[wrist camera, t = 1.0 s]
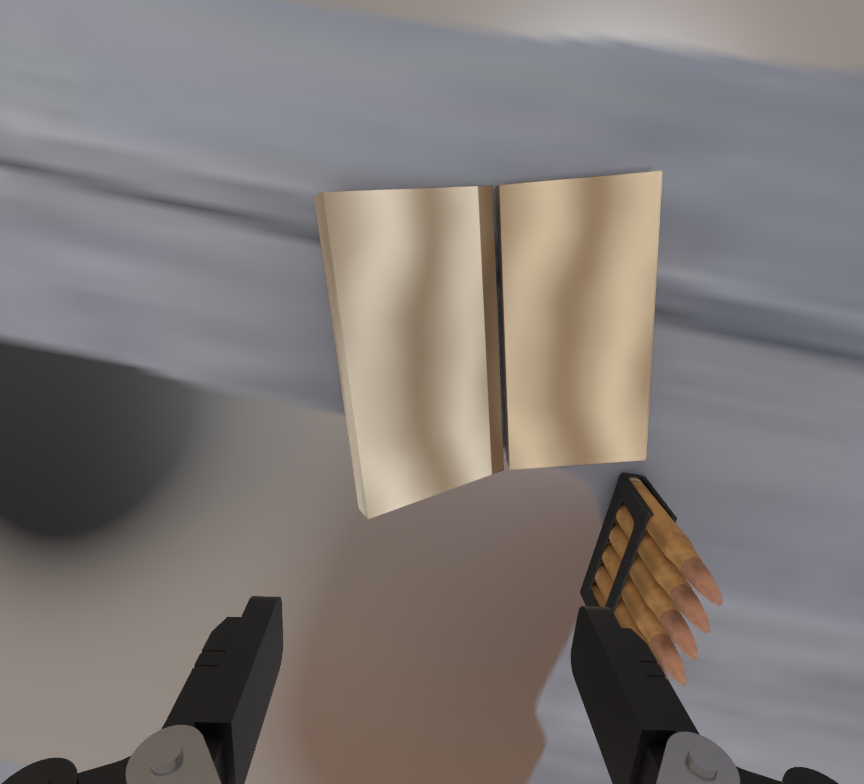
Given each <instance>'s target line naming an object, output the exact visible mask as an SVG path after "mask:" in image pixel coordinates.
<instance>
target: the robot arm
mask: <svg viewBox="0 0 864 784" xmlns="http://www.w3.org/2000/svg"><path fill="white" fill-rule="evenodd" d="M282 624H283V621H282V600H281V597H263V596H261V597H260V596H252V597H251V598H250V599H249V601H248V604H247V606H246V608H245V610H244V612H243V615H242V617H227V618H226V619H225V620H224V621H223V622H222V623H221V624H219V626H217V627H216V628H215V629H214V630H213V631H212V632H211V634H210V636H209V638H208V640H207V642H206V644H205V646H204V648H203V649H202V653H201V654H200V655H199V657H198V659H197V661H196V663H195V667H194V668H193V669H192V671H191V673H190V675H189V677H188V679H187V681H186V683H185V685H184V687H183V689H182V691H181V693H180V695H179V696H178V698H177V700H176V703H175V704H174V706H173V708H172V710H171V713H170V714H169V716H168V718H167V720H166V722H165V724H164V726H163V727H162V729H161V730H160V731H158V732H156V733H154V734H152V735H151V736H149V737H148V738H147V739H146V740H144V741H143V742H142V743H141V744H140V745H139V746H138V748H137V749H136V750H135V751H134V753H133V754H132V755H131V756H130V757H128V758H125V759H123V760H121V761H118V762H115V763H112V764H108V765H105V766H101V767H98V768H94V769H91V770H87V771H84V772H81V773H77V769H76V767H75V765H74V764H73V763H72V762H71V761H69V760H67V759H63V758H48V759H45V760H41V761H38V762H35V763H32V764H30V765H28V766H26V767H24V768H22V769H21V770H19V771H18V772H16V773H15V774H13V775H12V776H10V777H9V778H8V779H7V780H6V781H4V782H3V783H2V784H244V783H245V780H246V777H247V773H248V770H249V767H250V764H251V760H252V757H253V754H254V751H255V747H256V744H257V741H258V738H259V734H260V731H261V728H262V725H263V722H264V718H265V715H266V712H267V709H268V705H269V702H270V699H271V695H272V692H273V689H274V686H275V683H276V679H277V676H278V673H279V669H280V665H281V660H282V653H283V625H282ZM571 666H572V672H573V676H574V679H575V682H576V685H577V687H578V690H579V693H580V696H581V698H582V701H583V704H584V707H585V709H586V712H587V715H588V717H589V720H590V723H591V726H592V728H593V731H594V734H595V737H596V739H597V742H598V745H599V748H600V750H601V753H602V756H603V759H604V761H605V764H606V767H607V770H608V772H609V775H610V778H611V781H612V783H613V784H838V783H837V782H835V781H834V780H832V779H831V778H829V777H828V776H826V775H824V774H822V773H820V772H817V771H815V770H812V769H809V768H804V767H794V768H791V769H789V770H787V771H786V773H785V774H784V777H783V779H782V782H780V781H777V780H774V779H771V778H768V777H765V776H762V775H759V774H755V773H752V772H749V771H746V770H744V769H741V768H739V767H737V766H735V764H734V763H733V761H732V760H731V758H730V757H729V756H728V755H727V754H726V752H725V751H724V750H723V749H721V748H720V747H719V746H718V745H717V744H715V743H714V742H713V741H711V740H709V739H708V738H706V737H704V736H701V735H700V734H699V733H698V731H697V729H696V728H695V726H694V724H693V722H692V721H691V719H690V717H689V715H688V714H687V712H686V710H685V708H684V707H683V705H682V703H681V701H680V700H679V698H678V696H677V694H676V693H675V691H674V689H673V688H672V686H671V684H670V682H669V681H668V679H666V677H665V676H666V675H665V674H664V672H663V670H662V668H661V667H660V665H659V664H657V660H656V658H655V656H654V654H653V653H652V651H651V649H650V648H649V646H648V644H647V643H646V642H645V641H644V640H643V639H642V638H641V637H640V636H639V635H638V634H637V633H636V632H634V631H633V630H632V629H631V628H621V626H620V624H619V622H618V620H617V618H616V617H615V615H614V613H613V611H612V610H611V608H609V607H593V606H581V607H580V608H579V611H578V616H577V621H576V627H575V632H574V638H573V643H572V648H571Z"/></svg>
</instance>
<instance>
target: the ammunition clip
mask: <svg viewBox="0 0 864 784" xmlns="http://www.w3.org/2000/svg"><path fill="white" fill-rule="evenodd" d="M676 520H677V517H676V516H675V515H674V514H673V512H672V511H671V510H670V508H669V507H668V506H667V504H666V503H665V502H664V501H663V499H662V498H661V497H660V495H659V494H658V493H657V491H656V490H655V489H654V488H653V486H652V485H651V484H650V482H649V481H648V480H647V478H646V477H642V476H637V475H631V474H626V473H622V474H620V476H619V479H618V482H617V485H616V488H615V491H614V494H613V497H612V500H611V503H610V506H609V509H608V511H607V514H606V517H605V520H604V523H603V526H602V529H601V532H600V535H599V538H598V541H597V544H596V547H595V550H594V552H593V556H592V558H591V561H590V564H589V567H588V570H587V573H586V576H585V579H584V582H583V585H582V588H581V591H580V594H581V596H582V598H583V600H584V603H585V605H586V606H593V607H609V608H611V610H612V611H613V613H614V615H615V617H616V618H617V620H618V622H619V624H620V626H621V628H631V629H632V630H633V631H634V632H636V633H637V634H638V635H639V636H640V637H641V638H642V639H643V640H644V641H645V642H646V643H647V644H648V646H649V648H650V649H651V651H652V653H653V654H654V656H655V658H656V660H657V664H659V665H660V667H661V668H662V670H663V672H664V674H665V675H666V676H665V677H666V679H668V676H667V674H666V672H665V670H664V668H665V669H666V670H667V671H668V673H669V674H670V675H671V676H672V677H673V678H674V679H675V680H676V681H677V682H679V683H680V684H681V685H684V686H685V685H686V673H685V670H684V666H683V663H682V660H681V658H680V655H679V653H678V651H677V649H676V647H675V645H674V643H673V642H672V640H673V641H674V642H675V643H676V645H677V646H678V647H679V648H680V649H681V650H682V651H683V652H684V653H685V654H686V655H688V656H689V657H690V658H692V659H694V660H697V659H698V652H697V647H696V644H695V641H694V638H693V635H692V633H691V631H690V629H689V627H688V625H687V623H686V621H685V620H684V618H683V617H682V614H681V612H682V613H683V614H684V616H685V617H686V618H687V619H688V620H689V621H690V622H691V623H692V624H694V625H695V626H696V627H697V628H698V629H700V630H701V631H703V632H705V633H709V632H710V625H709V621H708V618H707V615H706V613H705V611H704V609H703V607H702V605H701V603H700V601H699V599H698V597H697V596H696V594H695V593H694V592H693V590H692V588H691V586H690V585H689V583H688V582H687V580H688V581H689V582H690V583H691V584H692V585H693V586H694V588H695V589H696V590H697V591H698V592H700V593H701V594H702V595H703V596H704V597H706V598H707V599H708V600H709V601H711V602H713V603H714V604H717V605H722V596H721V593H720V590H719V588H718V586H717V584H716V582H715V580H714V578H713V576H712V575H711V573H710V572H709V570H708V569H707V568H706V566H705V565H704V564H703V562H702V560H701V559H700V557H699V556H698V555H697V553H696V552H695V550H694V547H693V545H692V543H691V542H690V540H689V539H688V538H687V537H686V535H685V534H684V533H683V532H682V531H681V529H680V528H679V527H678V526H677V524H676ZM685 577H686V578H687V580H686V578H685ZM678 608H679V609H678ZM679 610H680V611H681V612H680V611H679ZM671 638H672V640H671ZM661 663H662V664H661ZM662 665H663V666H664V668H663V666H662ZM668 681H669V679H668ZM669 682H670V681H669Z"/></svg>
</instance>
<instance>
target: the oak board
mask: <svg viewBox="0 0 864 784" xmlns="http://www.w3.org/2000/svg"><path fill="white" fill-rule="evenodd" d="M661 188H662V171H654V172H643V173H632V174H620V175H609V176H597V177H586V178H574V179H563V180H551V181H540V182H528V183H517V184H506V185H499V186H497V187H496V196H497V222H498V248H499V274H500V300H501V327H502V353H503V379H504V405H505V431H506V457H507V463H508V466H509V469H510V470H513V469H526V468H541V467H555V466H570V465H584V464H598V463H612V462H626V461H640V460H646V453H647V435H648V418H649V400H650V382H651V365H652V347H653V329H654V311H655V294H656V276H657V258H658V241H659V223H660V205H661Z"/></svg>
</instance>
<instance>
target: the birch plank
mask: <svg viewBox="0 0 864 784" xmlns="http://www.w3.org/2000/svg"><path fill="white" fill-rule="evenodd" d="M314 200H315V207H316V214H317V221H318V228H319V235H320V242H321V249H322V256H323V263H324V270H325V277H326V284H327V291H328V298H329V305H330V312H331V319H332V326H333V333H334V340H335V347H336V354H337V361H338V368H339V375H340V382H341V388H342V395H343V402H344V409H345V416H346V423H347V430H348V437H349V444H350V451H351V458H352V465H353V472H354V479H355V486H356V493H357V500H358V506H359V509H360V510H361V512H362V513H363V514H364V515H365V516H366V517H367V519H370V518H373V517H376V516H379V515H381V514H384V513H387V512H390V511H392V510H395V509H398V508H400V507H403V506H406V505H409V504H412V503H414V502H417V501H420V500H423V499H425V498H428V497H431V496H434V495H437V494H439V493H442V492H445V491H447V490H450V489H453V488H456V487H459V486H461V485H464V484H467V483H470V482H472V481H475V480H478V479H481V478H484V477H486V476H489V475H492V474H495V473H497V472H500V471H503V470H504V464H503V462H504V461H503V436H502V411H501V387H500V362H499V337H498V312H497V287H496V263H495V238H494V213H493V188H492V186H470V187H444V188H418V189H392V190H366V191H340V192H322V193H319V194H316V195H314Z"/></svg>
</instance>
